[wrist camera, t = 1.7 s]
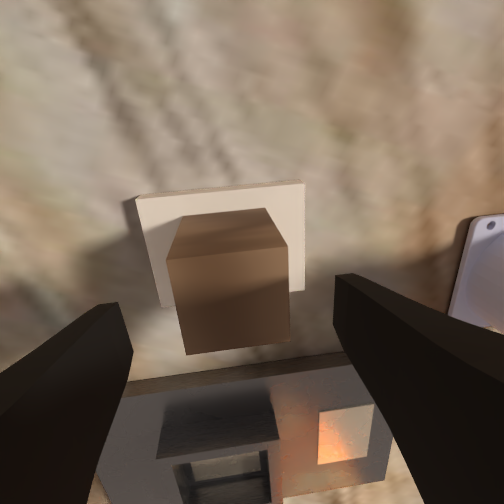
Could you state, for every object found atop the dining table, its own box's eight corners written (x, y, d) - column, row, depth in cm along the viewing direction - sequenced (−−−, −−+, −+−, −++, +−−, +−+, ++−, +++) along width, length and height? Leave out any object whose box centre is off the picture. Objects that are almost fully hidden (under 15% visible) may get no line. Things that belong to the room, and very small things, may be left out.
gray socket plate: (398, 343, 20) (429, 380, 17) (377, 465, 26) (397, 508, 23) (73, 389, 18) (45, 439, 16) (127, 508, 24) (114, 560, 21)
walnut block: (265, 207, 14) (288, 246, 9) (269, 278, 16) (290, 341, 11) (182, 216, 14) (165, 260, 9) (195, 287, 15) (186, 355, 11)
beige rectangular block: (299, 179, 15) (305, 183, 14) (300, 281, 17) (304, 289, 16) (140, 194, 14) (135, 199, 13) (164, 297, 17) (161, 307, 16)
